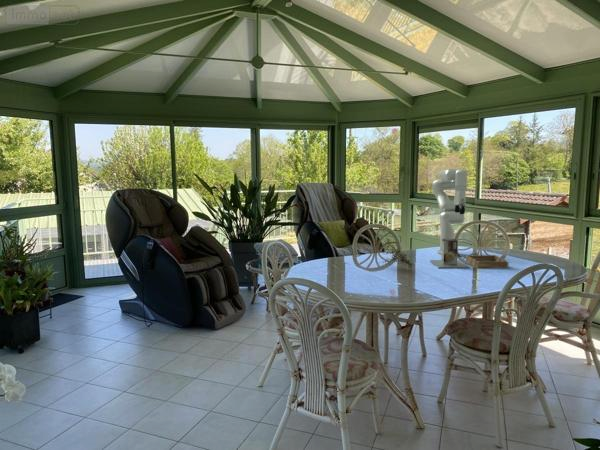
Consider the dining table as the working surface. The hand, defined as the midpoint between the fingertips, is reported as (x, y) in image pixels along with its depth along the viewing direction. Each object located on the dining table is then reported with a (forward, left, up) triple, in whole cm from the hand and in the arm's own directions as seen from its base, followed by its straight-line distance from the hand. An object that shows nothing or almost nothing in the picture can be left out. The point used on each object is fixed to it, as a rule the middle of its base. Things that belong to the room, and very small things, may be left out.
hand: (459, 213), depth 304 cm
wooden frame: (+12, +15, -33) cm, 38 cm away
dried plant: (+18, -54, -34) cm, 66 cm away
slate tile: (+12, -10, -33) cm, 37 cm away
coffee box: (+12, -10, -32) cm, 36 cm away
